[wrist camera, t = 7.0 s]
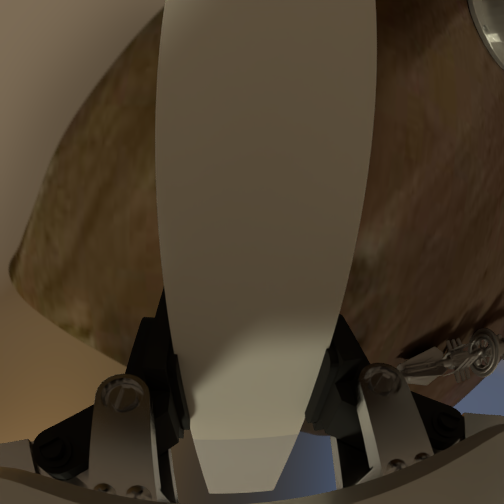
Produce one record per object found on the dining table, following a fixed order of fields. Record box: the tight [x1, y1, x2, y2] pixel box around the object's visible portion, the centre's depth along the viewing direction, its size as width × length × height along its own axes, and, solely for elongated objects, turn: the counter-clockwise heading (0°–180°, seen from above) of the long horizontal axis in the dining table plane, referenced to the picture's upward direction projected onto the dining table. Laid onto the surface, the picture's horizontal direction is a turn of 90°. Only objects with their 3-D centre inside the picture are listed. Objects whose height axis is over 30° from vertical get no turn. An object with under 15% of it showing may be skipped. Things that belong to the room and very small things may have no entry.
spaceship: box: [397, 328, 504, 385], centre depth 30 cm, size 8×35×8 cm
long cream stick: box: [155, 0, 377, 493], centre depth 9 cm, size 22×4×4 cm, turn 177°
